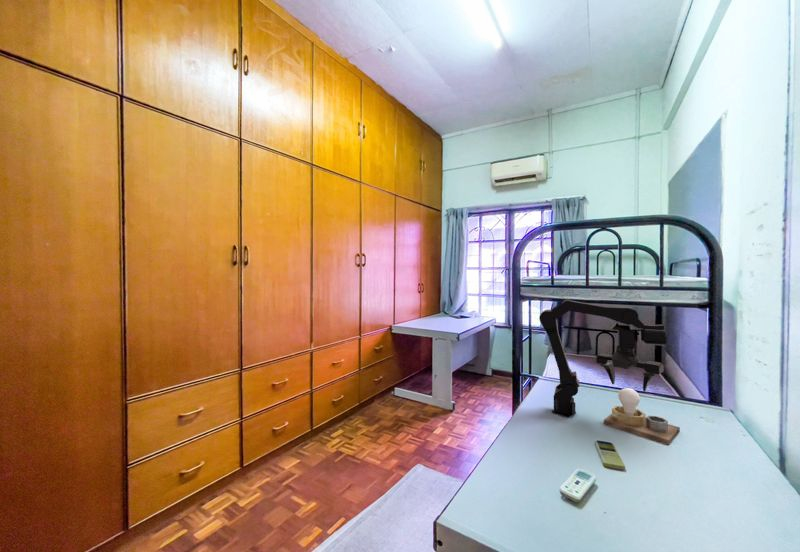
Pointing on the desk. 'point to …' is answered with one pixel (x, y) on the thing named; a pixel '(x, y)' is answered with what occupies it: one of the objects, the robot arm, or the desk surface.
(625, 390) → the lightbulb
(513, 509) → the desk surface
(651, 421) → the grey small collar
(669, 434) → the walnut board
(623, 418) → the brass collar
